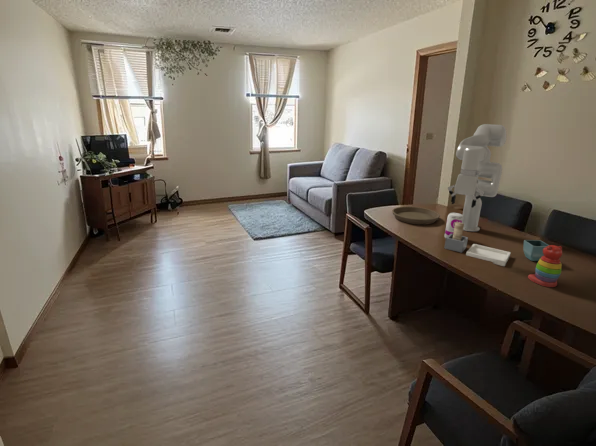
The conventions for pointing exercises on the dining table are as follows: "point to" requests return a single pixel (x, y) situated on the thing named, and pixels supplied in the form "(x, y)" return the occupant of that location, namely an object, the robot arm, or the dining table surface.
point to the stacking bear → (548, 267)
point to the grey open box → (456, 243)
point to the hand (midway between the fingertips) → (462, 205)
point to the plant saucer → (415, 215)
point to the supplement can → (452, 223)
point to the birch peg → (458, 231)
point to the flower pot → (534, 249)
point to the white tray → (489, 254)
